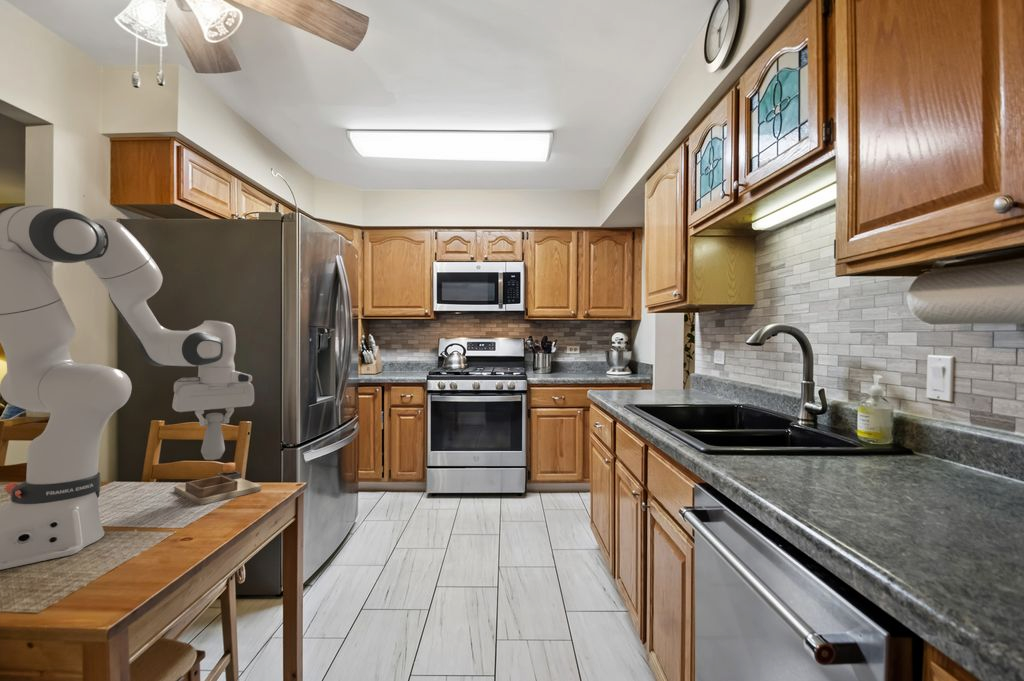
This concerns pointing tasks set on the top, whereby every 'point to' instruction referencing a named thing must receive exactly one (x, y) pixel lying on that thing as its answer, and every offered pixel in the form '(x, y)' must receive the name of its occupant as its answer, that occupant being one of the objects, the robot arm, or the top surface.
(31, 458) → the robot arm
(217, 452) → the salt shaker
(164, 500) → the top surface
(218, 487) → the pallet board
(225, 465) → the button
